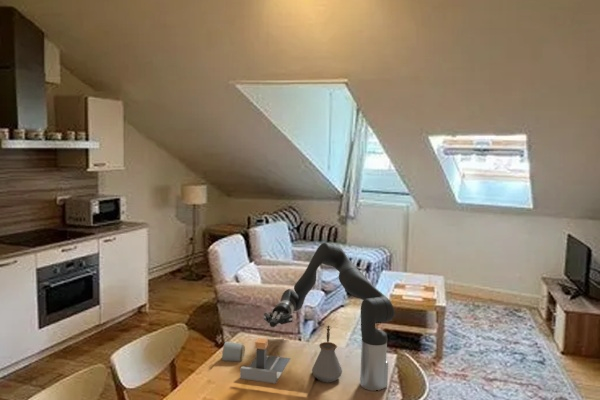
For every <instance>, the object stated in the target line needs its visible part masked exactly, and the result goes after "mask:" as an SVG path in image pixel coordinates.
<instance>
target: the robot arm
mask: <svg viewBox="0 0 600 400" xmlns="http://www.w3.org/2000/svg"><path fill="white" fill-rule="evenodd" d="M322 264H323V265H326V266H329V267H331V268H332V267H333V268H335V270H337V271H338V272H339V273H338V280H339V283H340V284H341V286H342V287H343V288H344V290H345V291H346V292H347V293H348V294H349V295H352V296H353V297H356V298H358V299H360V300H362V302H361V305H360V332H361V349H360V350H361V352H360V353H361V355H360V374H359V385H360V387H362V388H363V389H365V390H367V391H371V392H373V391H374V392H377V391H376V390H378V391H382V390H384V389H386V388H388V380H389V379H388V378H389V362H388V361H387V355H388V354H387V352H388V350H387V348H388V334H387V332H385V331H383V330H382V329H378V328H376V325H377V324H384V323H388V322H390V321H392V320H393V318H394V316H395V308H394V306H393V303H392V302H391V300H390V299H389V298H388V296H386V295H385V294H384V293H382V292H381V291H380V290H379V289H378V288H377V287H376V286H375V285H374V284H372V283H371V282H370V281H369V280H368V278H366V276H365V275H364V274H363V273H362V271H361V270H360V269H359V268H357V266H356V265H355V264H354V263H353V262H352V261H351V259H350V258H349V257H348V256H347V254H346V252H345V251H344V249H343V248H342V247H340V246H338V245H335V244H332V243H329V242H322V243H321V244H320V245H319V246H318V247H317V249H316V251H315V252H314V254H313V256H312V257H311V259H310V261H309V263H308V266H307V267H306V269H305V270H304V272H303V274H302V275H301V277H300V278H299V279H298V280H297V281H296V283H295V284H294V286H293V289H290V288H289V289H286V290H285V291H284V292H283V293H282V295H281V298H280V302H278V303H277V305H276V306H275V307H274V308H273V310H272V311H271V312H269V313H267V312H264V313H263V320H264V321H265V322H266V323H268V324H269V327H271V328H275V327H276V326H278V325H284V324H285V325H286V324H289V323H293V317H294V315H292V314H293V313H294V312H297V311H300V310H301V308H302V307H303V304H304V302H305V300H306V298H307V295H308V294H309V293H310V292H311V290H312V289H313V288H314V286H315V284H316V281H317V272H318V268H319V267H321V265H322ZM381 389H382V390H381Z"/></svg>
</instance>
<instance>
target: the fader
mask: <svg viewBox="0 0 600 400" xmlns="http://www.w3.org/2000/svg"><path fill="white" fill-rule="evenodd" d="M254 343H255V346H254V349H256V356H257V358H256V368H258V369H266V360H267V355H268V354H267V352H268V351H267V348H268V346H269V339H268V338H260V337H259V338H257V339H256V340H255V342H254Z"/></svg>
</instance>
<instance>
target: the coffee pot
mask: <svg viewBox="0 0 600 400" xmlns="http://www.w3.org/2000/svg"><path fill="white" fill-rule="evenodd" d="M325 329H326V341H325V342H321V343H319V345H318V346H319V348H320V352H319V354H318V356H317V358H316V360H315V362H314V363H313V366H312V369H311V371H312V374H313V376H314V377H315V378H316V379H317V380H318V381H320V382H322V383H333V382H336V381H337V380H338V379H339V378H340V377H341V376H342V374H343V370H342V369H343V368H342V366H341V365H340V362H339V358H338V356H337V354H336V349H337V347H338V346H337V344H335V343H333V342H330V336H331V335H330V331H331V325H328V324H327V326H326V327H325Z"/></svg>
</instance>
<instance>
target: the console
mask: <svg viewBox="0 0 600 400" xmlns="http://www.w3.org/2000/svg"><path fill="white" fill-rule="evenodd" d="M256 358H257V355H256V356H255V357H254V359H253V360H252V362H251V363H250V364H249V365H248V366H241V367H240V370H239V371H240V372H239V373H240V374H239V377H240V378H239V379H240V380H245V381H246V380H247V381H255V382H261V383H269V384H275V385H276V384H277V382H278V380H279V379H280V377H281V376H282V375H283V372H284V371H285V369H286V367H287V365H288V364H289V362H290V360H291V358H290V357H283V356H277V355H276V356H275V355H268V354H267V360H266V369H258V368H256Z"/></svg>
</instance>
